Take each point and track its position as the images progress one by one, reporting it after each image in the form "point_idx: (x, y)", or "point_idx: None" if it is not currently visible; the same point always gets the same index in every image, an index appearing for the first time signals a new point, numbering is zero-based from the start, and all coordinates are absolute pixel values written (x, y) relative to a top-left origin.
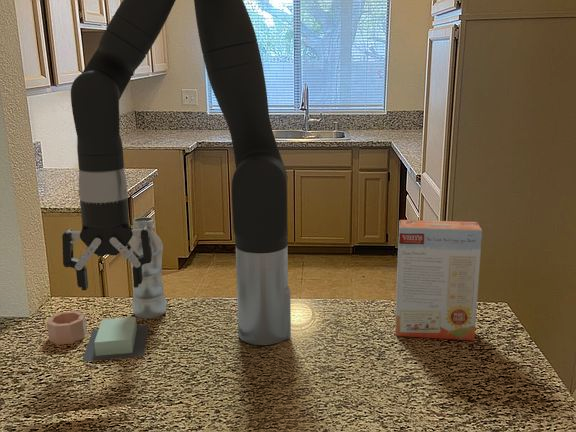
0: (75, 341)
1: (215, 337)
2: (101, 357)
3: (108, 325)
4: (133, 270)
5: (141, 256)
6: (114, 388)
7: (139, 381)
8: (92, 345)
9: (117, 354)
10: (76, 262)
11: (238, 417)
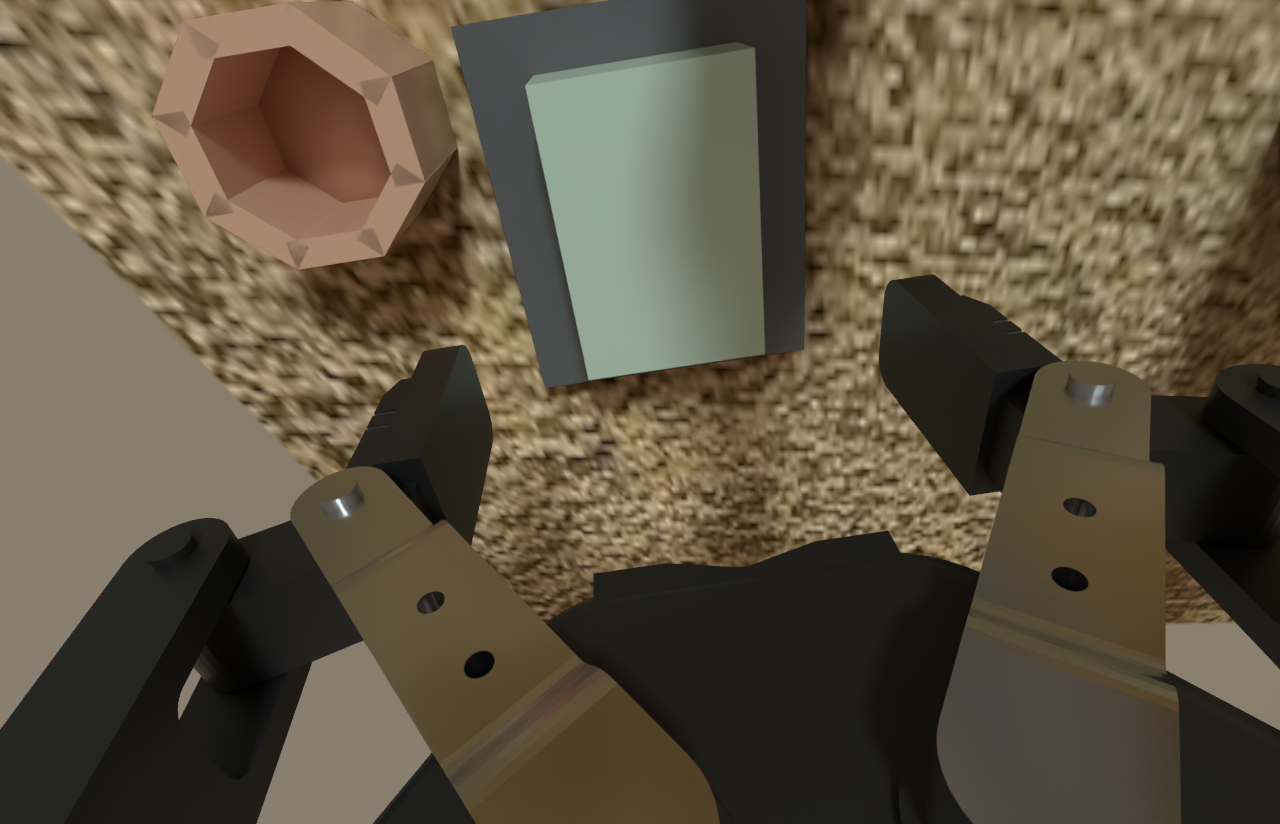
0: (423, 203)
1: (1164, 108)
2: None
3: (600, 185)
4: (964, 479)
5: (1172, 490)
6: (711, 495)
7: (789, 461)
8: (536, 248)
9: None
10: (352, 634)
11: None
